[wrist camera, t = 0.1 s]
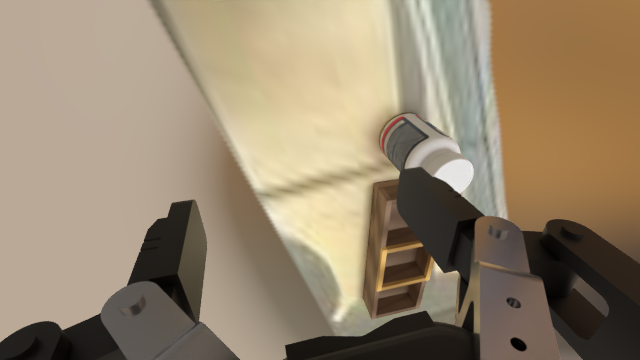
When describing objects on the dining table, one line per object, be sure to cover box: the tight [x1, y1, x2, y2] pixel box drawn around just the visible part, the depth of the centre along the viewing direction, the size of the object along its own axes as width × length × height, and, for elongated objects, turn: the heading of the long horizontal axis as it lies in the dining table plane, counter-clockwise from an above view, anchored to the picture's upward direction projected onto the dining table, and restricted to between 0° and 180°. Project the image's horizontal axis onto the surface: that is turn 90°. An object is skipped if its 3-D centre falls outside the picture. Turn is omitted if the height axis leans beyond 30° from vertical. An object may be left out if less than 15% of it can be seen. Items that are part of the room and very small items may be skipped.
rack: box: [363, 179, 434, 319], centre depth 40 cm, size 21×8×4 cm, turn 3°
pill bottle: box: [380, 113, 474, 194], centre depth 29 cm, size 5×5×9 cm
